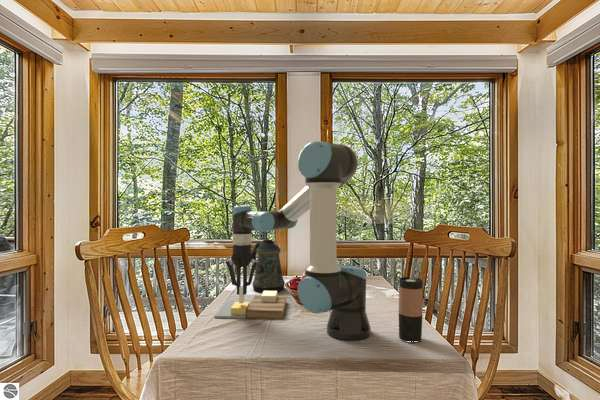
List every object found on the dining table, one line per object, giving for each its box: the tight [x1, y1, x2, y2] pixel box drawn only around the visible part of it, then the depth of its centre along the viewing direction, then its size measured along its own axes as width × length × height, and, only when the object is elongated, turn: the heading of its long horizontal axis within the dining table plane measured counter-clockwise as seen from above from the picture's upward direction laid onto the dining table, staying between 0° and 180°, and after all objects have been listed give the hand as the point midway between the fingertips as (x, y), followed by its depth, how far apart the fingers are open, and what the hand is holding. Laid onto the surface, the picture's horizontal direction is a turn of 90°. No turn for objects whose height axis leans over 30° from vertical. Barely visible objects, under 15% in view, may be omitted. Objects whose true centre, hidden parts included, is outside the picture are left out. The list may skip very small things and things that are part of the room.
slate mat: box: [214, 298, 253, 320], centre depth 158 cm, size 24×12×1 cm, turn 178°
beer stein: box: [250, 239, 286, 294], centre depth 192 cm, size 16×19×25 cm
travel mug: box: [398, 276, 424, 342], centre depth 126 cm, size 8×8×20 cm
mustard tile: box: [231, 302, 250, 315], centre depth 152 cm, size 9×6×2 cm, turn 178°
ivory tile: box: [260, 291, 278, 302], centre depth 163 cm, size 9×6×2 cm, turn 178°
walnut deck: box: [246, 294, 287, 319], centre depth 157 cm, size 22×14×3 cm, turn 178°
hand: (241, 302), depth 152 cm, fingers closed
